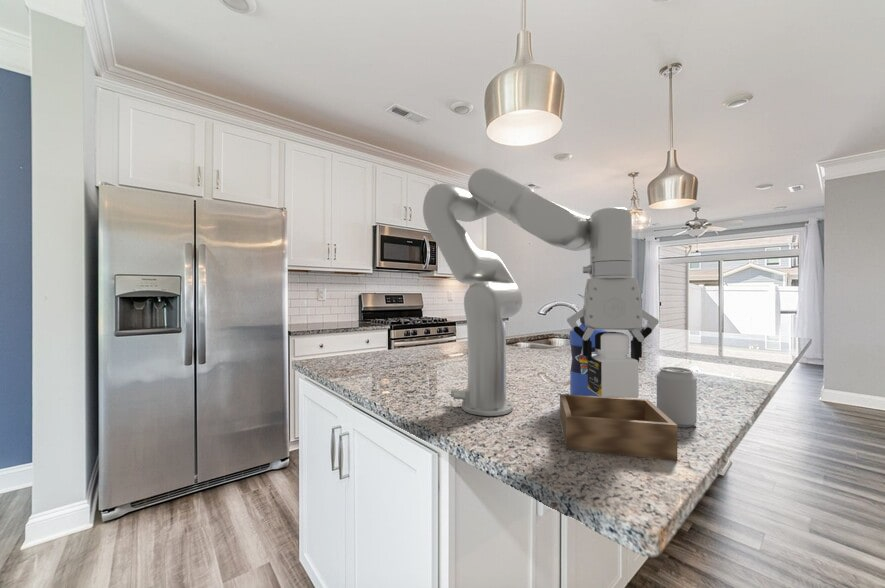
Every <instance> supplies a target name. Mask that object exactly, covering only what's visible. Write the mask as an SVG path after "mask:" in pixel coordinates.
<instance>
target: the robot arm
mask: <svg viewBox="0 0 885 588" xmlns="http://www.w3.org/2000/svg"><path fill="white" fill-rule="evenodd" d="M467 188H468V190H467V189H464V188H461V187H459V186H456V185H454V184H451V183H450V184H449V183H438V184H434V185H432V186H431V187H430V188H428V190H427V192H426V194H425V196H424V199H423V204H422V205H423V206H422V215H423V216H422V217H423V220H424V224H425V226H426V228H427V230H428V232H429V234H430V235H431V237H432V238H433V240H434V241H435V243H436V245H437V247H438V249H439V251H440V252H441V255H442V257H443V258H444V260H445V262H446V264H447V266H448V267H449V270H450V271H451V273H452V275H453V276H454V278H455V279H456V280H457V281H458V282H459V283H462V284H467V285H469V287H467V290H466V292H465V293H464V298H463V308H464V313H465V314H464V315H465V319H466V327H467V328H466V329H467V387H466V388H463V390H460V389H450V397H451V398H453V399H454V400H462V401H461V410H462V411H464V412H466V413H469V414H471V415H475V416H476V415H477V416H483V417H497V416H503V415H508V414H509V413H511V412H512V411H513V408H514V407H513V406H514V405H513V403H512V402H511V401H509V400H508V399H507V333H506V328H505V325H504V321H503V319H505V318H511V317H514V316H515V315H517V314H518V313H519V312H520V310H521V308H522V304H523V295H522V292H521V290H520V288H519V286H518V284H517V282H516V281H515V280H514V278H513V276H512V274H511V273H510V272H509V270H508V268H507V266H506V265H505V263H504V261H503V260H502V259H501V258H500V257H499V256H498V255H497V254H496V253H495V252H492V251H491V250H486V249H482V248H479V247H477V246H476V245H475V243H474V242H473V241H472V239H471V237H470V236H469V234H468V232H467V231H466V229H465V228H464V226H462V225H461V224H460V222H458V221H461V222H465V223H467V222H469V223H470V222H475V221H478V220H480V219H483V218H486V217H488V216H491V215H495V214H496V213H497V214H500V215H501V216H502V217H504V218H506V219H507V220H509V221H511V222H512V223H514V224H515V225H517V226H519V228H521V229H523V230H525V231H526V232H528V233H529V234H531V235H533V236H535V237H536V238H538V239H540V240H541V241H543V242H545V243H547V244H549V245H551V246H553V247H556V248H561V249H565V250H569V251H574V252H577V251H578V252H579V251H584V250H585V251H586V250H589V257H590V258H589V261H590V263H589V265H586V266H583V267H582V274H588V275H589V277H590V278H587V279H586V284H585V288H584V297H583V308H581V309H580V310H578V311H576V312H575V313H573V314H572V315H571V316H569V317H568V318H566V322H567V324H568V325H569V326H570V328H571V330H574V331H575V332H576V333H577V334H578V335H579V336H580V337H581V338H582V342H583V356H586V359H587V361H591V360H592V341H590V336H591V335H592V333H593V332H594V330H595V329H604V330H605V331H607V330H609V331H611V330H614V331H615V330H617V331H618V330H619V331H625V330H626V331H628V332H629V333H630V335H631V336H632V339H631V340H630V358H633V359H636V360H638V364H640V358H642V357H643V345H642V344H643V342H644V340H645V339H646V338H647V337H648V336H649V335H650V334H651V333H652V332H653V331H654V329H655V328H656V327H657V325H658V324H659V321H660V320H659V319H658V318H657V317H655V316H653V315H652V314H650V313H648V312H646V311H645V310H644V309H642V308H643V307H642V300H641V290H640V286H639V282H638V278H637V277H633V235H632V234H633V233H632V231H633V225H632V223H633V221H632V213H631V211H630V210H629V208H626V207H619V206H615V207H614V206H613V207H605V208H600V209H597V210H595V211H594V212H592V214H590V216H588V215H587V216H586V215H583V214H580V213H578V212H576V211H573V210H571V209H569V208H567V207H565V206H562V205H559V204H558V203H556V202H554V201H552V200H549V199H548V198H545V197H544V196H542V195H540V194H538V193H536V192H535V191H534V189H533V188H531V187H530V186H528V185H526V184H523V183H522V182H519V181H517V180H515V179H514V178H511V177H510V176H507V175H505V174H503V173H501V172H500V171H497V170H494V169H492V168H488V167H487V168H486V167H485V168H483V167H482V168H479V169H477V170H475V171H474V172H473V173H472V174H471V175H470V176H469V178H468V182H467ZM581 317H583V321H584V324H585V325H586V328H585V329H584V331H583V330H582V329H580V328H579V326H580V325H578V324H577V321H578V320H580V318H581ZM643 320H644V321H646V322H647V323H646V324H645V326H643ZM642 326H643V327H642ZM641 327H642V329H641V330H639V329H640V328H641Z"/></svg>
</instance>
